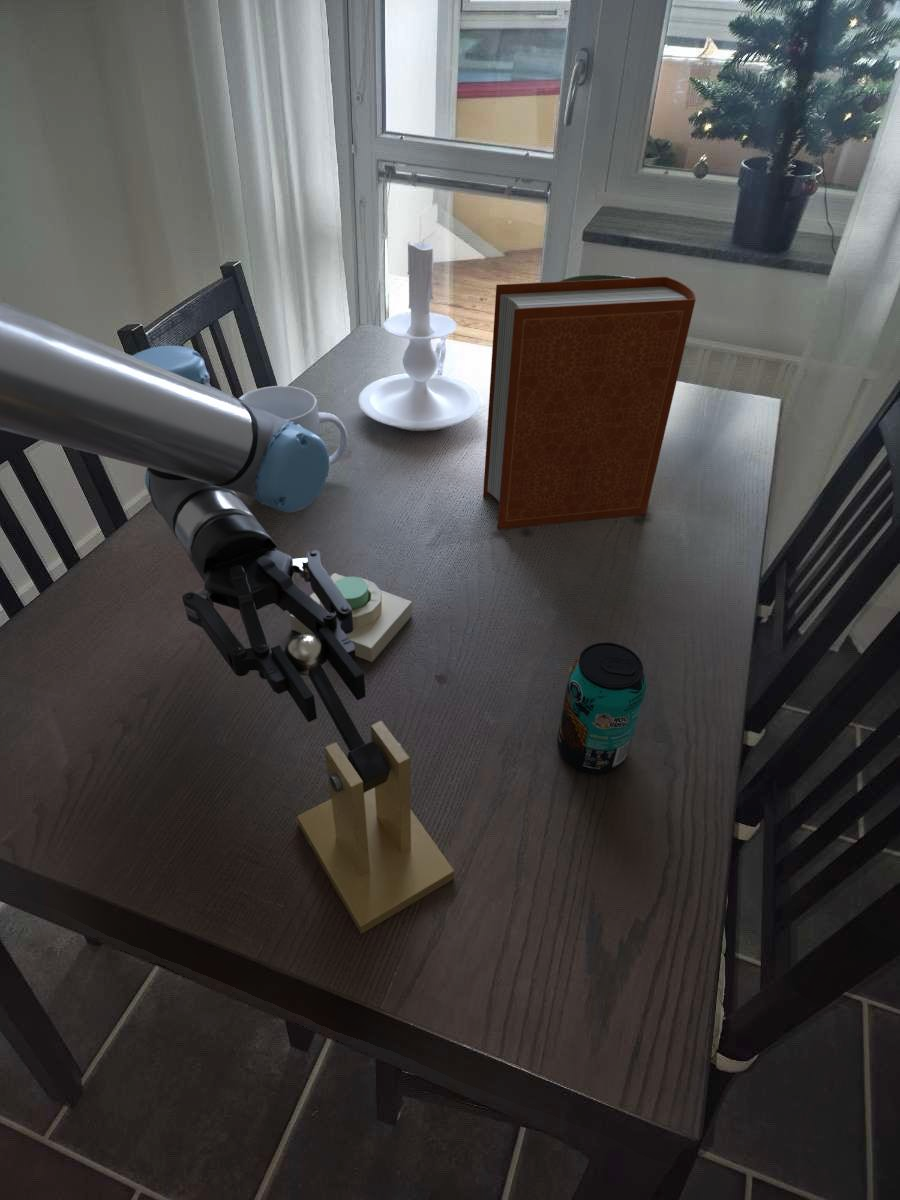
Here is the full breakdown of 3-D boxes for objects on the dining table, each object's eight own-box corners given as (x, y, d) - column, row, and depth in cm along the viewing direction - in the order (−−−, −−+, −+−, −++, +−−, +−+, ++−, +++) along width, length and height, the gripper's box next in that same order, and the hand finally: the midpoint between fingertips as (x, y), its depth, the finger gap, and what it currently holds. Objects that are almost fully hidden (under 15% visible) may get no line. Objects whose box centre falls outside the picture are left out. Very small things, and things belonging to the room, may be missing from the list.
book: (497, 529, 104) (515, 309, 84) (483, 497, 110) (496, 284, 90) (652, 513, 108) (703, 299, 88) (630, 482, 114) (673, 276, 94)
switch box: (291, 629, 88) (287, 603, 85) (335, 586, 94) (333, 560, 91) (372, 662, 84) (370, 636, 81) (412, 615, 90) (412, 589, 88)
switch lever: (276, 656, 64) (276, 634, 62) (314, 640, 66) (317, 618, 63) (353, 800, 59) (357, 784, 56) (393, 780, 60) (400, 763, 58)
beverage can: (559, 716, 79) (574, 632, 71) (627, 727, 78) (650, 643, 70) (553, 771, 74) (569, 686, 66) (626, 783, 73) (651, 698, 65)
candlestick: (498, 389, 137) (510, 221, 119) (463, 455, 119) (471, 269, 101) (390, 373, 141) (386, 209, 123) (340, 435, 123) (326, 252, 105)
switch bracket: (298, 824, 68) (279, 724, 59) (385, 779, 72) (380, 680, 63) (361, 934, 61) (350, 840, 52) (454, 878, 65) (460, 781, 56)
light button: (326, 603, 86) (325, 591, 85) (346, 583, 89) (345, 572, 88) (356, 615, 85) (355, 603, 83) (375, 594, 87) (374, 583, 86)
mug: (340, 457, 118) (334, 377, 109) (359, 494, 110) (354, 411, 101) (243, 472, 113) (228, 390, 105) (255, 512, 106) (240, 427, 97)
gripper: (309, 549, 80) (426, 688, 66) (151, 603, 73) (242, 773, 59) (302, 488, 75) (426, 625, 61) (131, 541, 68) (226, 709, 54)
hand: (335, 697), depth 60 cm, fingers closed on switch lever, 4 cm apart
